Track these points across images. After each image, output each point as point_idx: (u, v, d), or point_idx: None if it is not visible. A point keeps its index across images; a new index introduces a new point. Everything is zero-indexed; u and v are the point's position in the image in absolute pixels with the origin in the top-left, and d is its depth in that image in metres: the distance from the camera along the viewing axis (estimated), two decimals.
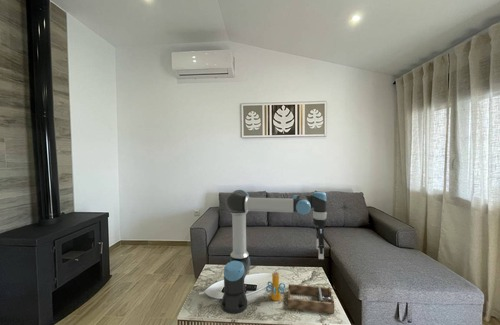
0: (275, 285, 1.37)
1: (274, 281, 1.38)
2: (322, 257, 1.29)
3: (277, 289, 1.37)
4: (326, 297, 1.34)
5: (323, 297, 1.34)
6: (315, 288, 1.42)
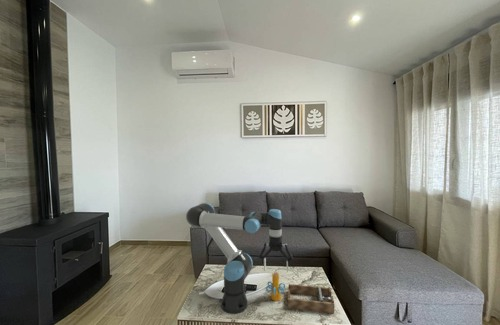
0: (275, 285, 1.37)
1: (274, 281, 1.38)
2: (264, 268, 1.40)
3: (277, 289, 1.37)
4: (326, 297, 1.34)
5: (323, 297, 1.34)
6: (315, 288, 1.42)
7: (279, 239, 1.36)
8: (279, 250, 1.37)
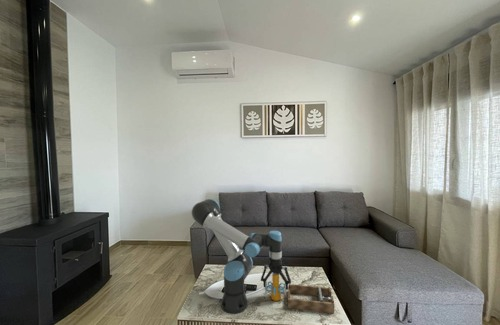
0: (275, 285, 1.37)
1: (274, 281, 1.38)
2: None
3: (277, 289, 1.37)
4: (326, 297, 1.34)
5: (323, 297, 1.34)
6: (315, 288, 1.42)
7: (279, 261, 1.36)
8: (278, 272, 1.37)
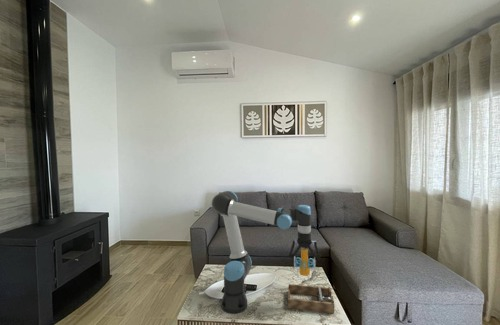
0: (304, 260, 1.34)
1: (303, 256, 1.34)
2: (294, 266, 1.36)
3: (306, 264, 1.34)
4: (326, 297, 1.34)
5: (323, 297, 1.34)
6: (315, 288, 1.42)
7: (309, 235, 1.32)
8: (308, 247, 1.33)
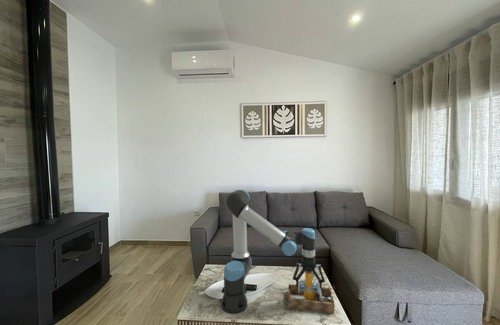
0: (309, 284, 1.34)
1: (307, 280, 1.34)
2: (298, 290, 1.36)
3: (311, 288, 1.34)
4: (326, 297, 1.34)
5: (323, 297, 1.34)
6: None
7: (313, 260, 1.32)
8: (312, 271, 1.33)
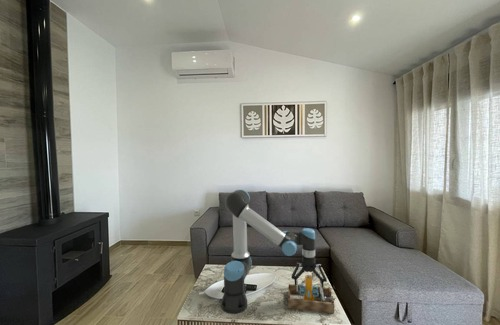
0: (309, 288, 1.34)
1: (307, 284, 1.34)
2: None
3: (311, 292, 1.34)
4: (328, 297, 1.34)
5: (325, 297, 1.34)
6: (315, 288, 1.42)
7: (313, 260, 1.32)
8: (313, 271, 1.33)
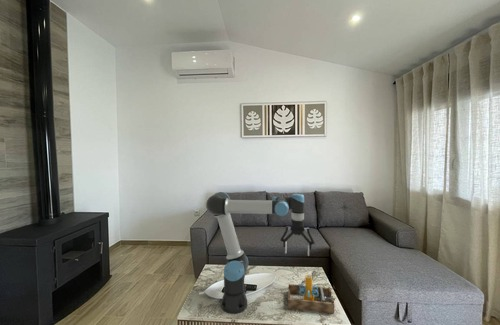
0: (309, 288, 1.34)
1: (308, 284, 1.34)
2: (285, 251, 1.42)
3: (311, 292, 1.34)
4: (328, 297, 1.33)
5: (325, 297, 1.34)
6: (315, 288, 1.42)
7: (301, 223, 1.37)
8: (301, 234, 1.39)
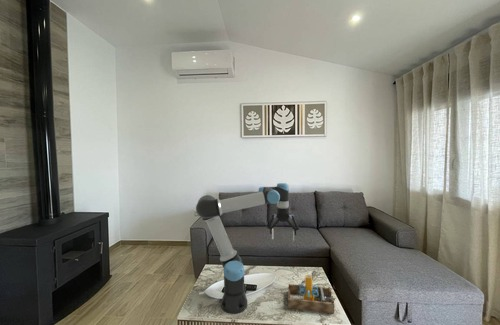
0: (309, 288, 1.34)
1: (308, 284, 1.34)
2: (272, 237, 1.50)
3: (311, 292, 1.34)
4: (328, 297, 1.33)
5: (325, 297, 1.34)
6: (315, 288, 1.42)
7: (286, 210, 1.46)
8: (286, 220, 1.47)
